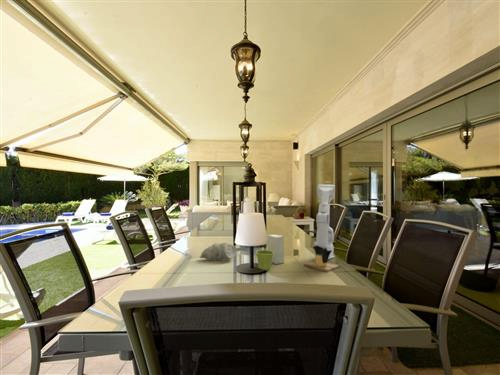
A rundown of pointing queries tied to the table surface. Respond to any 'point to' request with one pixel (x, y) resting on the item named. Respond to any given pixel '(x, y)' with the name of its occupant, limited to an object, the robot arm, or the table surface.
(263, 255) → the plant pot
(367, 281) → the table surface
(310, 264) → the post board
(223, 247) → the seashell
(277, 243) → the skincare box
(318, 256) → the cap
